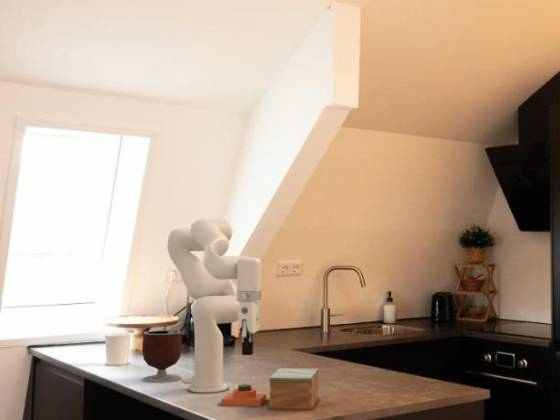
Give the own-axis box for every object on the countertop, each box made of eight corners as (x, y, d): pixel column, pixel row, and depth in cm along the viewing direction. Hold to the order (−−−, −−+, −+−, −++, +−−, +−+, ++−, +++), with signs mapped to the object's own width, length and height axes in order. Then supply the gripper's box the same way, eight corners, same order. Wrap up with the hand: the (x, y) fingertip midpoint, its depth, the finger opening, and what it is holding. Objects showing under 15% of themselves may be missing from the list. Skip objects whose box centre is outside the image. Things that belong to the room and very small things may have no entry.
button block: (221, 405, 234) (222, 392, 235) (229, 399, 243) (229, 386, 244) (260, 406, 234) (260, 392, 234) (266, 399, 243) (266, 387, 243)
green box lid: (311, 380, 228) (311, 378, 228) (269, 380, 229) (269, 377, 229) (318, 371, 245) (318, 368, 245) (279, 370, 245) (279, 368, 245)
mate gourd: (159, 384, 269) (160, 327, 270) (133, 380, 277) (134, 324, 277) (192, 377, 282) (193, 323, 283) (167, 373, 290) (167, 321, 290)
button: (236, 392, 237) (236, 386, 237) (239, 389, 241) (239, 384, 241) (249, 392, 237) (249, 386, 237) (252, 390, 241) (252, 384, 241)
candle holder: (130, 361, 319) (130, 332, 319) (129, 365, 310) (130, 335, 310) (105, 362, 316) (105, 333, 316) (104, 366, 306) (104, 336, 307)
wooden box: (311, 409, 229) (311, 380, 229) (269, 409, 229) (270, 379, 230) (318, 398, 244) (318, 371, 245) (279, 398, 245) (279, 370, 245)
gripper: (255, 299, 234) (253, 359, 234) (265, 294, 249) (264, 351, 248) (230, 298, 234) (229, 358, 234) (242, 294, 249) (241, 350, 249)
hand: (247, 354), depth 241 cm, fingers closed
